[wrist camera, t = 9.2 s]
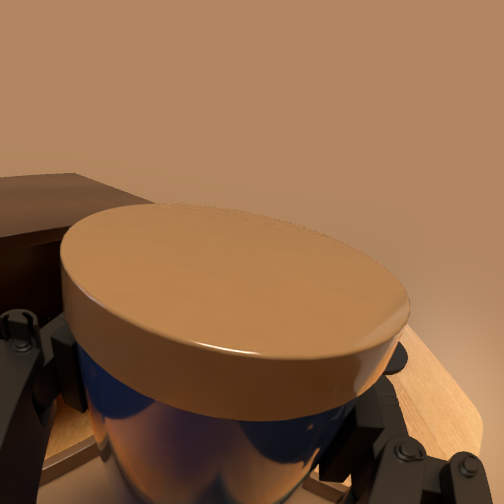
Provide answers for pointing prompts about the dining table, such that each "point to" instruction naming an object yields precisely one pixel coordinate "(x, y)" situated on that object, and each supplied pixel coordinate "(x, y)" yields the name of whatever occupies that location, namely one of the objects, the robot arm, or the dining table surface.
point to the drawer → (99, 492)
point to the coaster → (396, 360)
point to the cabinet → (44, 233)
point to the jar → (220, 347)
